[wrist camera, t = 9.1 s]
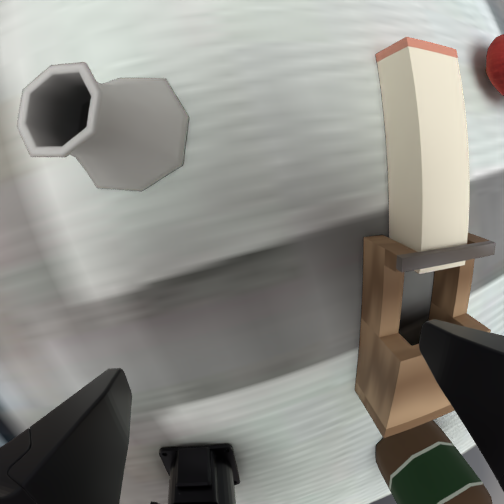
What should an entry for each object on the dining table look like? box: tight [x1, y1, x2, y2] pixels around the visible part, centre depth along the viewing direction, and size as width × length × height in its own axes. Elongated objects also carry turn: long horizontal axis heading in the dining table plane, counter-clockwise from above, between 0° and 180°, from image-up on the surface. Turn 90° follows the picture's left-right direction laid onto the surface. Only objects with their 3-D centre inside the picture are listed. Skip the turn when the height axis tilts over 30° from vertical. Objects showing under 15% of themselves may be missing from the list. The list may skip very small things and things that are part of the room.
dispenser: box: [355, 233, 495, 438], centre depth 20 cm, size 13×8×6 cm, turn 5°
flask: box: [17, 62, 189, 191], centre depth 13 cm, size 7×7×10 cm
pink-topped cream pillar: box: [376, 37, 469, 274], centre depth 18 cm, size 14×4×4 cm, turn 5°
